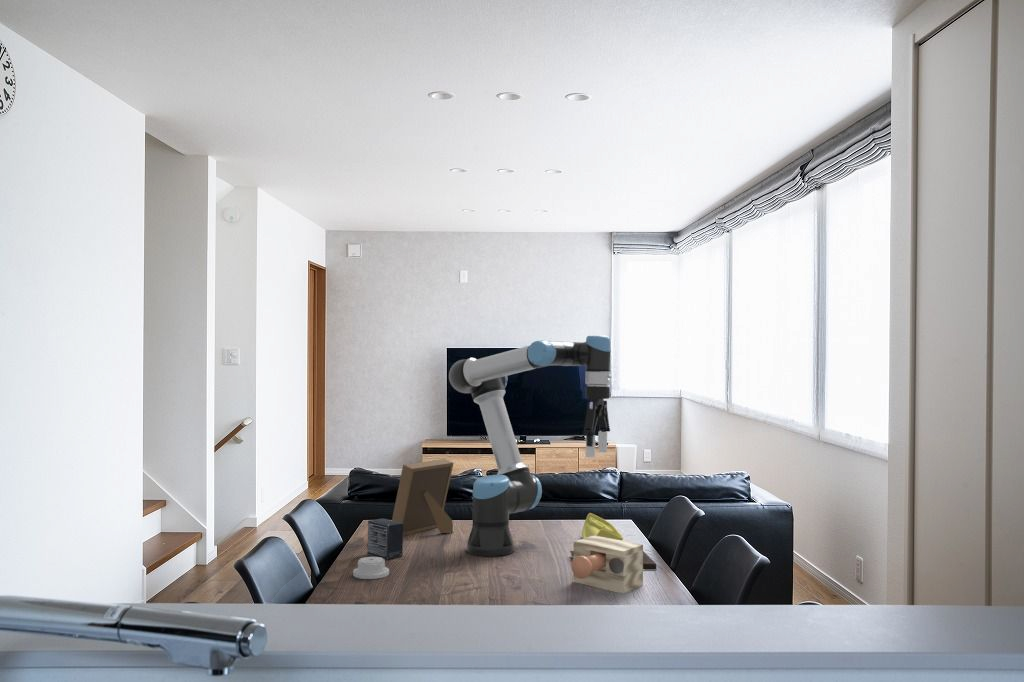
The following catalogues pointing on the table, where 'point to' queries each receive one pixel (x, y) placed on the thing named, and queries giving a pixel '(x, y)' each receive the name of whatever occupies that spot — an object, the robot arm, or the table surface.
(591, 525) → the plastic component
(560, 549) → the table surface
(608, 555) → the socket block
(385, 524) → the small box
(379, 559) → the mechanical component
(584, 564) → the plug
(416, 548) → the table surface
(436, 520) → the photo frame
